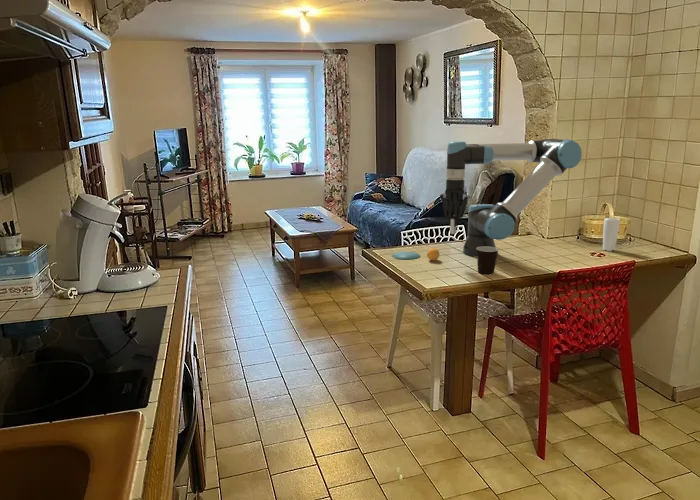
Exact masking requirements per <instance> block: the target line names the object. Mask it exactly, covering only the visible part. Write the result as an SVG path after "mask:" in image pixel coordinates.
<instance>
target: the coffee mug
mask: <svg viewBox="0 0 700 500" xmlns="http://www.w3.org/2000/svg"><path fill="white" fill-rule="evenodd" d="M476 250H477V257H476V262H477V272H478V274H481V275H484V274H485V275H486V274H487V275H488V276H489V274H491V275H494V274H493V273H495V268H496V264H497V257H498V254H499V253H498V252H499V249H498V248H497V247H496V248H494V247H487V246H483V247H477V248H476ZM487 275H486V276H487Z"/></svg>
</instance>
